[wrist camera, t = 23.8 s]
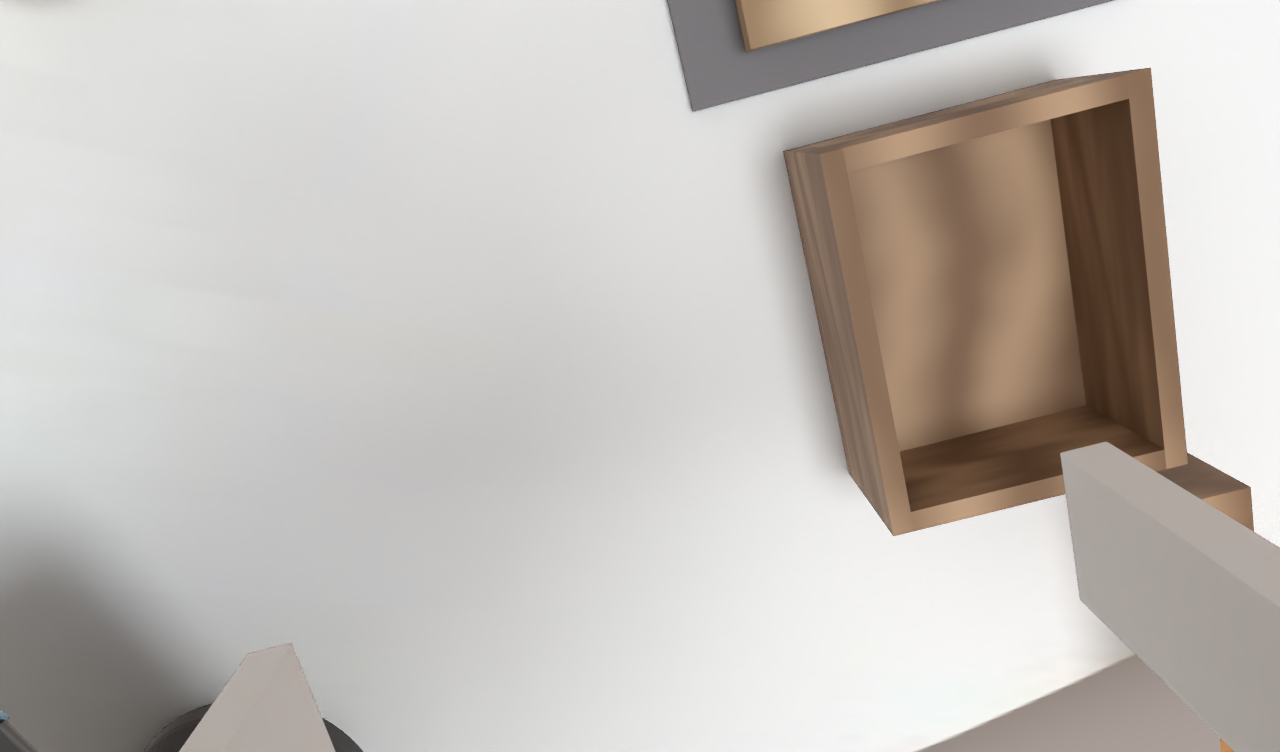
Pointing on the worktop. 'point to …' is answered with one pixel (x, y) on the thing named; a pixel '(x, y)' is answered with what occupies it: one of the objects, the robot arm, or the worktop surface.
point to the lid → (808, 17)
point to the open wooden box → (998, 299)
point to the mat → (829, 42)
